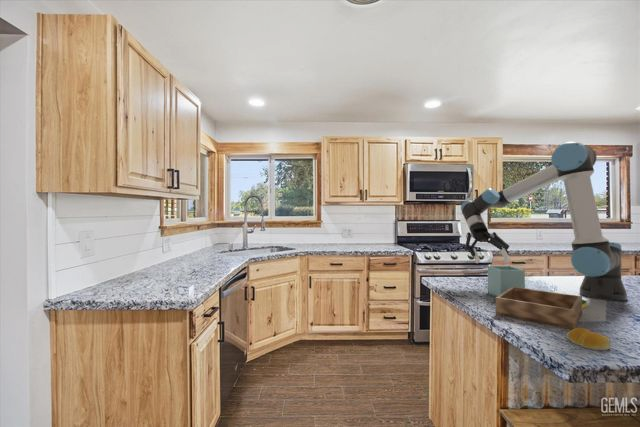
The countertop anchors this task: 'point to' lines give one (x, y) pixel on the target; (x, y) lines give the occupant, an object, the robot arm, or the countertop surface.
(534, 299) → the big walnut crate
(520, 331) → the countertop surface
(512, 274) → the small teal crate
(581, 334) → the bread roll
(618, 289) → the robot arm
